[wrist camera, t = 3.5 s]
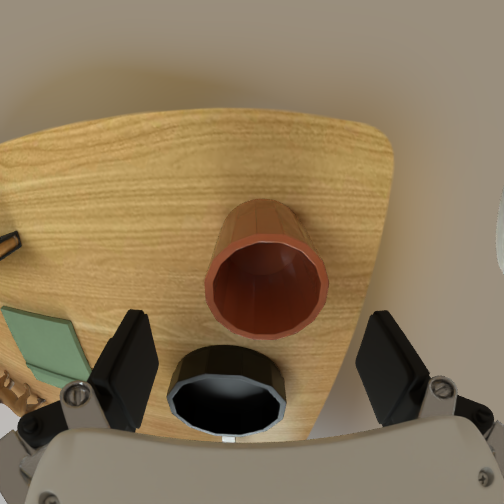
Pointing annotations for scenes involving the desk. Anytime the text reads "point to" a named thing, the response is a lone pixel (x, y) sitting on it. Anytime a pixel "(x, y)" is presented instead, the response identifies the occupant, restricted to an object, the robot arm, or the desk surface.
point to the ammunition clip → (9, 244)
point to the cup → (265, 273)
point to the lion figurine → (16, 398)
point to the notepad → (48, 347)
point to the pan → (227, 392)
